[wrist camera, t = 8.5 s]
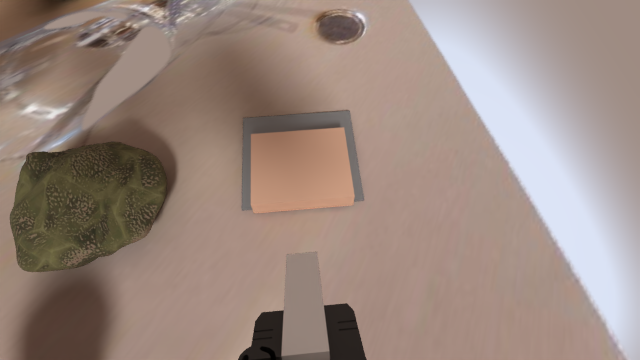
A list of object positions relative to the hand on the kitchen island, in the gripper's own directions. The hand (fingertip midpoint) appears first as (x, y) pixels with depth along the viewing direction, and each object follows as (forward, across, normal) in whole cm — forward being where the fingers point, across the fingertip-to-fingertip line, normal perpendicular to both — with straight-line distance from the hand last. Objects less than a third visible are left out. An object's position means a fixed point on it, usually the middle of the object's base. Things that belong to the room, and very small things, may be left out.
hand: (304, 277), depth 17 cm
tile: (+24, 0, -5) cm, 24 cm away
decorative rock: (+26, -23, -5) cm, 35 cm away
